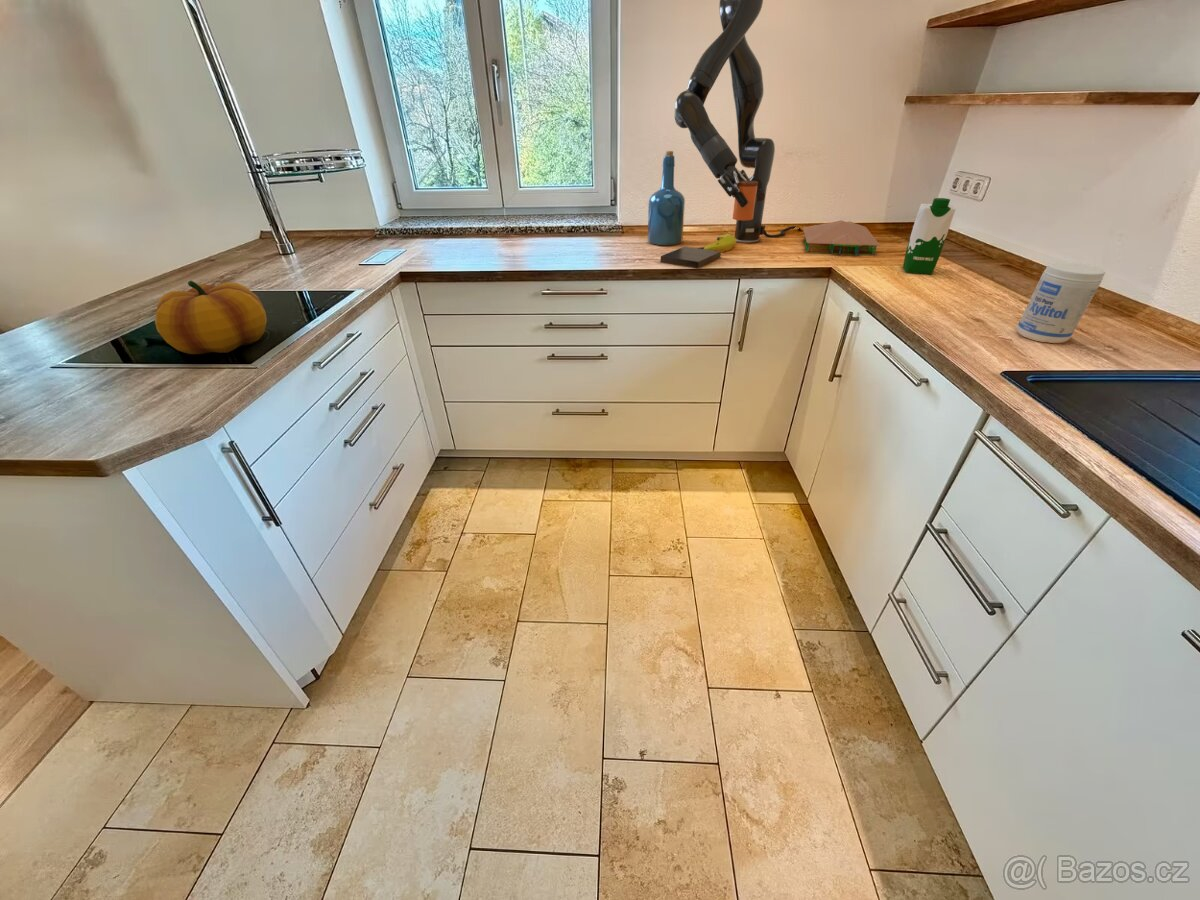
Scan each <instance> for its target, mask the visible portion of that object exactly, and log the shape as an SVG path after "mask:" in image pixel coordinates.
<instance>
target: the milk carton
mask: <svg viewBox="0 0 1200 900" xmlns="http://www.w3.org/2000/svg"><path fill="white" fill-rule="evenodd" d="M950 202H951V199H950V198H946V197H945V198H944V197H935V198H933V200H932V203H920V206H919V208H918V211H917V214H916V216H915V221H914V223H913V226H912V230H911V234H910V236H909V240H908V243H907V246H906V250H905V254H904V259H903V265H902V268H903V270H904V271H905V273H906V274H918V275H919V274H920V275H921V274H922V275H933V274H934V273H933V272H934V271H935V268H936V266H937V263H938V261H939V259H940V257H941V254H942V250H943V248H944V244H945V242H946V239H947V236H948V233H949V230H950V227H951V224H952V221H953V218H954V215H955V212H956V208H955V207H954V205H951V204H950Z"/></svg>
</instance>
